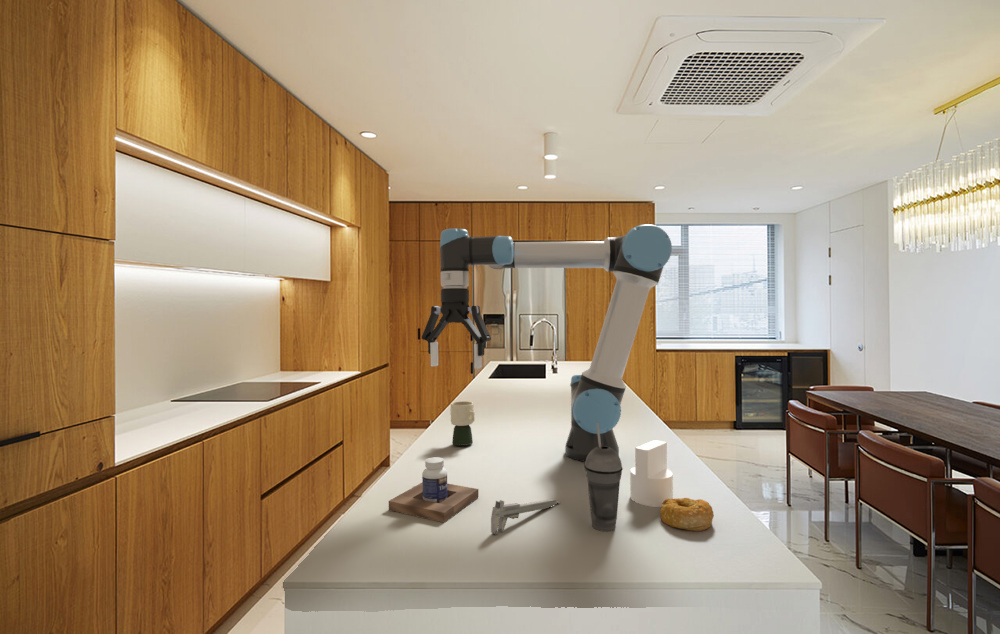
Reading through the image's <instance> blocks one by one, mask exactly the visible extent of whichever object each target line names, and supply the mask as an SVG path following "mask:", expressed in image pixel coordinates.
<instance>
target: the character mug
mask: <svg viewBox="0 0 1000 634" xmlns="http://www.w3.org/2000/svg"><path fill="white" fill-rule="evenodd" d="M475 419H476V418H475V408H474V402H473V401H468V400H465V401H464V400H463V401H461V400H460V401H459V400H458V401H454V402H451V403H450V423H451V425H452V426H454V428H453V430H452V431H453V432H452V440H451V443H452V445H454V446H465V447H467V445H472V444H473V434H472V428H471V425H472V424H473V423H474V422H475Z"/></svg>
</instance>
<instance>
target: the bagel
mask: <svg viewBox="0 0 1000 634" xmlns="http://www.w3.org/2000/svg"><path fill="white" fill-rule="evenodd" d="M662 504H663V506H662V507H660V510H659V512H660V518H661V521H662V522H663V523H664V524H666V525H668V526H669V527H672V528H674V529H675V528H676V529H679V530H680V529H682V530H686V531H692V532H693V531H694V532H702V531H705V530H706V529H709V528H710V527H711V525H712V524H713V519H714V516H715V515H714V511H713V506H711V504H710V503H709V502H708V501H706V500H703V499H701V498H699V499H691V498H689V497H683V498H673V499H666V500H664V501H663V503H662Z"/></svg>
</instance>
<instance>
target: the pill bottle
mask: <svg viewBox="0 0 1000 634" xmlns="http://www.w3.org/2000/svg"><path fill="white" fill-rule="evenodd" d="M424 463H425V464H424V465H425V469H424V470H423V471H422V474H421V475H422V477H421V478H422V482H421V483H422V484H423V500H425V501H430V502H435V503H441V502H442V501H444V500H445V499H447V484H448V471H447V469H446V468H445V467H444V466H445V461H444V458H443V457H439V456H436V457H435V456H434V457H429V458H426V459H425V461H424Z"/></svg>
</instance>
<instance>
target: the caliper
mask: <svg viewBox="0 0 1000 634" xmlns="http://www.w3.org/2000/svg"><path fill="white" fill-rule="evenodd" d="M559 502H560V501H558V500H556V499H554V498H550V499H542V500H537V501H532V502H526V503H517V502H516V503H515V502H514V503H508V504H505V501H504V500H502V499H500V500H499V501H497V500H495V504H494V505H495V506H494V507H492V510H491V515H490V517H491V518H490V532H491V534H492V535H496V536H497V535H498V532H499V533H503V532H504V531H505V527H506V523H507V521H508V518H509V519H513V520H514V519H519V517H520V515H521V514H524V513H525V514H526V513H529V512H535V511H539V510H545V509H546V510H547V509H550V508H549V507H551V506H553V505H555V504H556V505H558V504H557V503H559ZM559 504H560V503H559ZM556 505H555V506H556ZM553 507H554V506H553ZM551 508H552V507H551Z"/></svg>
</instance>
